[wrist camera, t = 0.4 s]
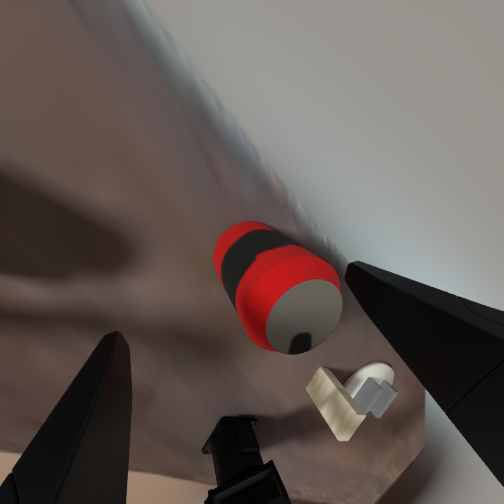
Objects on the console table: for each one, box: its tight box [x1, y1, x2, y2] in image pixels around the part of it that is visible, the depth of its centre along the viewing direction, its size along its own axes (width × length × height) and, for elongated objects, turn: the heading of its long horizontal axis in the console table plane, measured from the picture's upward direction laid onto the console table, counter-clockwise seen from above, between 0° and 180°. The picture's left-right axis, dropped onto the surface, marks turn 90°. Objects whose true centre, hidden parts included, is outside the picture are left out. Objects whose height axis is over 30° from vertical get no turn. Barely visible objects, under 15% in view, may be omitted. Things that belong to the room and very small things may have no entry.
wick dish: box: [343, 361, 399, 418], centre depth 42 cm, size 12×12×4 cm
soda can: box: [213, 221, 343, 355], centre depth 20 cm, size 8×8×12 cm
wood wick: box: [306, 367, 366, 441], centre depth 34 cm, size 4×2×8 cm, turn 149°
